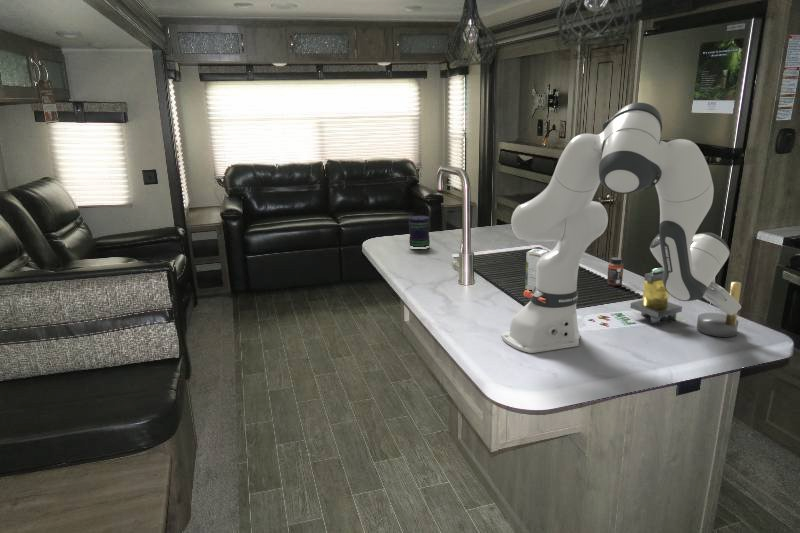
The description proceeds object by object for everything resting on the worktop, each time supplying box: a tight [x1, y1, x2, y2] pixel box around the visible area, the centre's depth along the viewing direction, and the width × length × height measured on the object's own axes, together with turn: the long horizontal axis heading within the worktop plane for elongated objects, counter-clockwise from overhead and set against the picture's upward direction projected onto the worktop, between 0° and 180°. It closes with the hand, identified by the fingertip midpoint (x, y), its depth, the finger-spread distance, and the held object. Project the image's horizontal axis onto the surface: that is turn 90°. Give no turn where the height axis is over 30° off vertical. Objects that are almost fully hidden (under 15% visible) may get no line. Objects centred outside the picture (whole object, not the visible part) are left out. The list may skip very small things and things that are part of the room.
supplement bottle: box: [606, 256, 624, 287], centre depth 197 cm, size 5×5×10 cm
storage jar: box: [408, 215, 431, 247], centre depth 260 cm, size 10×10×15 cm
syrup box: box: [524, 248, 549, 292], centre depth 194 cm, size 6×6×14 cm
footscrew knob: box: [696, 281, 742, 338], centre depth 153 cm, size 10×10×15 cm
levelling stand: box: [630, 267, 683, 327], centre depth 163 cm, size 10×10×16 cm
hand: (727, 310), depth 149 cm, fingers closed, pressing on footscrew knob
